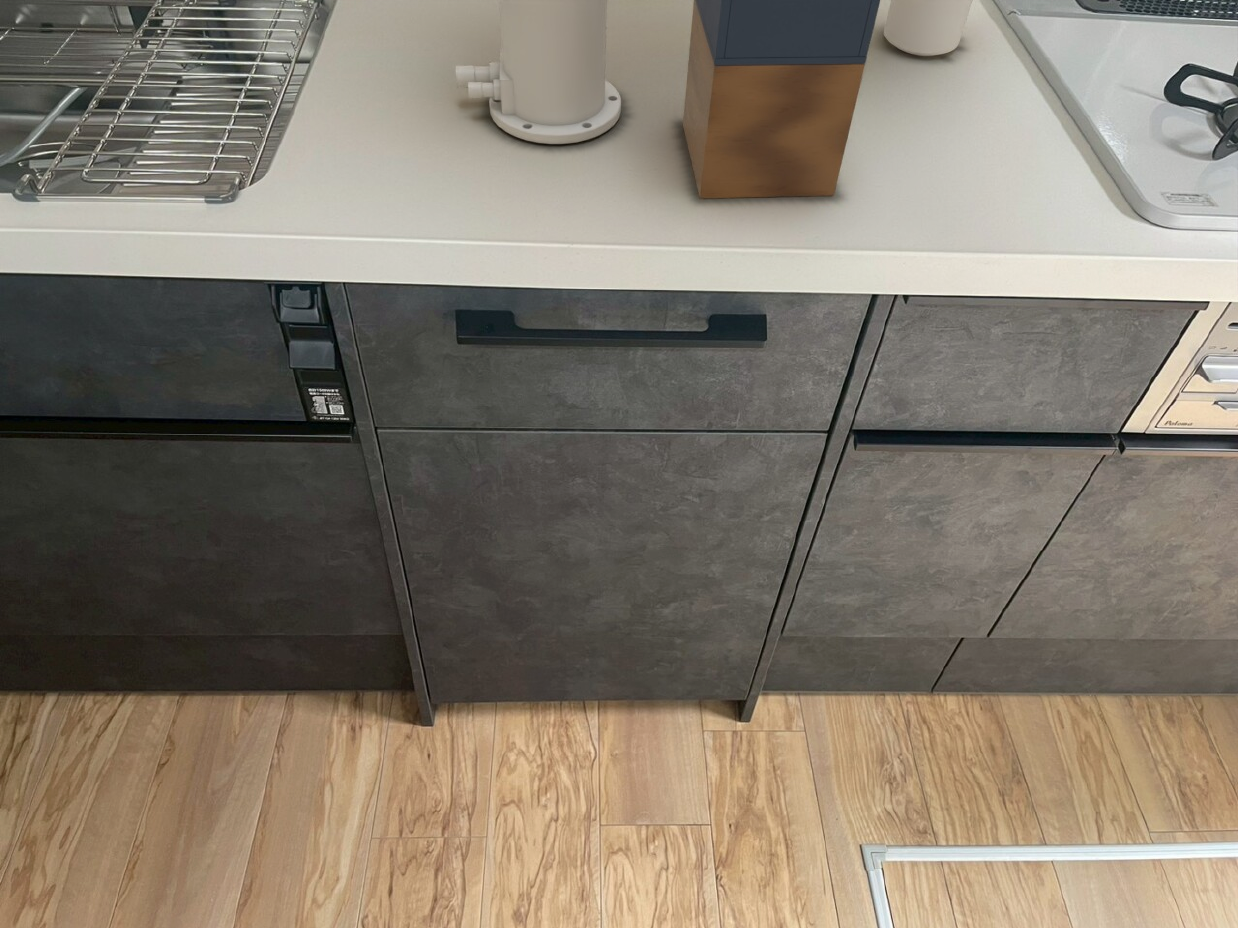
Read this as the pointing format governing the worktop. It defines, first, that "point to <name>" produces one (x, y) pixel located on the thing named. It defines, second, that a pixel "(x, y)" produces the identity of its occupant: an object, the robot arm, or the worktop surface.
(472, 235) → the worktop surface
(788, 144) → the stand
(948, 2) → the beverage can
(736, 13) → the slate grey square cap
